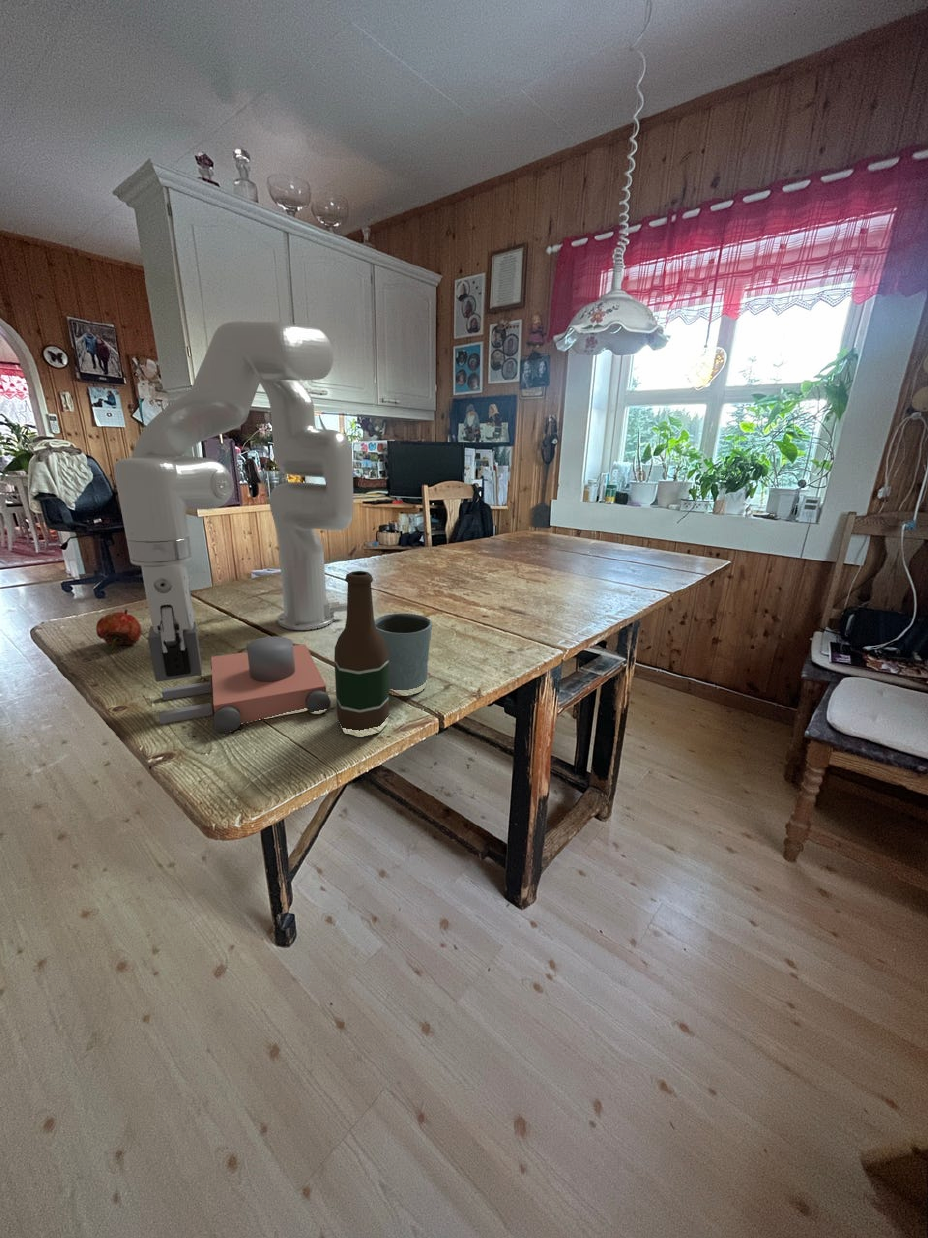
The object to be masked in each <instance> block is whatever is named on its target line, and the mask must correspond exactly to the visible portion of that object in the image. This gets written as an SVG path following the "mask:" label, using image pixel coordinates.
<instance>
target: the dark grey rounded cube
mask: <svg viewBox="0 0 928 1238" xmlns="http://www.w3.org/2000/svg"><path fill="white" fill-rule="evenodd" d="M149 627H150V628H149V631H148V636H147V642H148V647H149V652H150V653H149V654H150V659H151V664H152V668H153V675H154V680H155V682H156V683H158V682H164V681H173V680H178V679H184V678H191V677H193V678H194V677H199V676H202V675H203V673H202V672H203V670H202V669H203V668H202V666H203V665H202V656H201V650H200V642H199V635H198V629H197V627H198V626H197V623H196V621H194V626H193V628H192V630H190V631H188V629H185V630H183V635H184V642H185V648H188V655H189V661H190V668H191V673H190V674H186V675H179V676H171V677H168V676H166V672H165V666H164V660H163V655H162V651H163V647H162V640H161V634H158V633H156V632H154V630H153V626H152V625H150V626H149ZM174 628H175V630H176V629H179V625H178V626H174ZM175 635H176V637H178V638H179V634H175Z"/></svg>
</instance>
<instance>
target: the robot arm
mask: <svg viewBox="0 0 928 1238" xmlns="http://www.w3.org/2000/svg"><path fill="white" fill-rule="evenodd" d="M333 362H334V352H333V347H332V344H331V342H330V339H329V338H328V337H327V335H326V334H325V332H324V331H322V329H319V328H318V327H315V326H307V325H306V326H305V325H297V324H291V323H285V322H277V321H242V320H241V321H238V320H237V321H229V322H225V323H223V324H222V325H219V326H218V328H217V329H216V330H215V331H214V334H213V335H212V338H211V340H210V342H209V345H208V347H207V350H206V353H205V355H204V356H203V359H202V362H201V364H200V367H199V369H198V372H197V374H196V376H195V379H194V381H193V384H192V386H191V388H190V390H188V391H187V392H186V393H185V394H183V395H181V396H180V397H178V398H177V399H176V400H174V401H173V402H172V403H170V404H169V405H167V407H165V408H164V409H163V410H162V411H160V412H159V413H158V414H156V415H155V416H154V418H152V419H151V420H150V421H149V422H148V423H147V424H146V426H145V427H144V428H143V429H142V432H141V434H140V435H139V437H138V439H137V442H136V444H135V446H134V448H133V451H132V454H131V456H130V457H127V458H120V459H118V460H117V461H116V462H115V463H114V466H113V473H114V479H115V483H116V489H117V495H118V501H119V507H120V510H121V515H122V516H121V517H122V522H123V527H124V532H125V533H124V534H125V538H126V545H127V549H128V554H129V561H130V563H131V564H132V565H135V566H140V567H141V573H142V578H143V585H144V590H145V598H146V602H147V607H148V611H149V613H148V614H149V617H150V621H151V626H153V630H154V632H156V633H158V634H161V640H162V647H163V651H162V655H163V660H164V666H165V672H166V676H168V677H171V676H179V675H186V674H190V673H191V668H190V661H189V655H188V648H185V642H184V635H183V630H185V629H188V631H190V630H192V628H193V626H194V622H195V613H194V605H193V600H192V593H191V587H190V582H189V581H190V580H189V575H188V570H187V565H186V563H188V562H190V561H192V559H193V555H192V548H191V541H190V532H189V526H188V519H187V512H186V511H187V510H214V509H218V508H221V507H222V506H224V505H226V504H227V503H228V501H229V500H230V499H231V498H232V496H233V493H234V487H235V485H234V478H233V476H232V474H231V473H230V471H229V470H228V468H227V467H226V466H225V465H224V464H222V463H221V462H219V461H217V460H216V459H212V458H209V457H201V456H189V455H185V454H186V453H187V452H188V451H189V450H190V449H191V448H193V447H194V446H195V445H198V444H199V443H201V442H204V441H205V440H208V439H211V438H214V437H217V436H220V435H224V434H225V433H228V432H230V431H232V430H235V429H236V428H239V427H241V426H242V425H243V424H245V422H246V421H247V420H248V416H249V414H250V411H251V408H252V406H253V402H254V399H255V397H256V394H257V391H258V388H259V386H260V385H261V387H262V389H263V391H264V393H265V395H266V397H267V400H268V403H269V407H270V408H269V409H270V417H271V419H270V420H271V429H272V447H273V455H274V460H275V465H276V467H277V469H278V470H279V471H280V472H282V473H283V474H286V475H289V476H290V475H291V476H297V477H299V476H300V477H308V478H309V477H311V478H312V477H313V478H323V479H324V482H325V484H322V483H313V482H297V481H296V482H295V481H291V482H289V481H288V482H282V483H280V484H278V485H276V486H275V487H274V488H273V489H272V491H271V492H270V495H269V509H270V513H271V516H272V519H273V523H274V526H275V531H276V535H277V536H276V537H277V543H278V554H279V564H280V565H279V566H280V577H281V578H280V579H281V587H282V599H283V613H281V614H280V615H279V616H277V623H278V625H279V626H280V627H281V628H285V629H287V630H293V631H310V630H311V629H312V630H317V628H318V629H321V627H322V628H325V627H327V626H329V625H331V624H333V622H334V621H335V615H334V614H335V613H336V612H337V613H338V612H340V613H341V612H342V613H343V612H347V602H346V603H340V602H339V601H334V602H329V601H328V599H327V588H326V573H325V572H326V571H325V570H326V569H325V568H326V567H325V551H324V545H323V542H322V540H321V538H320V537H319V534H318V533H317V532H316V530H324V531H325V530H326V531H327V530H328V531H343V530H345V529H347V528H349V527H350V525H351V523H352V521H353V516H354V470H353V467H354V464H353V463H354V462H353V454H352V448H351V447H352V446H351V445H350V441H349V440H348V439H347V437H346V435H344V434H343V433H342V432H340V431H338V430H336V429H335V430H334V429H325V428H324V429H322V428H320V429H319V428H317V427H316V417H315V405H314V401H313V399H312V396H311V394H310V393H309V391H308V390H307V388H306V386H305V385H304V384H303V383H302V381H320V380H323V379H325V378H326V377H327V376H328V375H329V374H330V372H331V370H332V367H333ZM315 529H316V530H315ZM333 620H334V621H333ZM330 623H331V624H330ZM328 624H329V625H328ZM178 625H179V629H176V630H175V628H174V626H178ZM324 626H325V627H324ZM175 634H179V638H178V637H176V635H175Z"/></svg>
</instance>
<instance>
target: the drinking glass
mask: <svg viewBox="0 0 928 1238" xmlns="http://www.w3.org/2000/svg"><path fill="white" fill-rule="evenodd" d="M374 621H375V625H376V629H377V630H378V632H379V633H380V634H381V636H382V637H383V639H384V641H385V644H386V646H387V649H388V660H389V689H393V690H409V689H413V688H417V687H419V686H421V685H423V684H424V683H425V682H426V680H427V681H428V673H429V671H428V670H429V669H428V667H429V666H428V665H429V660H430V658H429V657H430V656H429V654H430V646H431V645H430V644H431V639H432V637H431V636H432V631H433V630H432V628H433V622H432V620H430V619H429V618H428V617H426V616H424V615H423V616H422V615H419V614H415V613H414V614H413V613H393V614H385V615H382V616H380V617H378V618H376V619H374Z"/></svg>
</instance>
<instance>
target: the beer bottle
mask: <svg viewBox="0 0 928 1238" xmlns="http://www.w3.org/2000/svg"><path fill="white" fill-rule="evenodd" d="M345 582H347V587H346V588H347V592H346V593H347V595H346V597H347V599H346V604H347V611H346V618H345V619H346V621H345V627H344V629H343V630H342V631H341V633H340V634H339V635H338V638H337V641H336V644H335V646H334V657H333V658H334V678H335V697H336V699H335V701H336V714H337V715H336V716H337V721H338V720H339V722H340V724H341V726H342V728H346V729H352V730H359V731H360V730H364V729H369V728H373V727H378V726H380V725H381V724H382V723H383V722H384V721H385V719H386V718H387V717H388V716H389V717H390V695H389V660H388V649H387V646H386V644H385V641H384V639H383V637H382V636H381V634H380V633H379V632H378V630H377V629H376V625H375V615H374V603H373V592H372V583H373V582H374V579H373V575H372V574H371V573H370V572H368V571H364V570H356V571H355V570H354V571H351V572H348V573H347V574H346V575H345Z"/></svg>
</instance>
